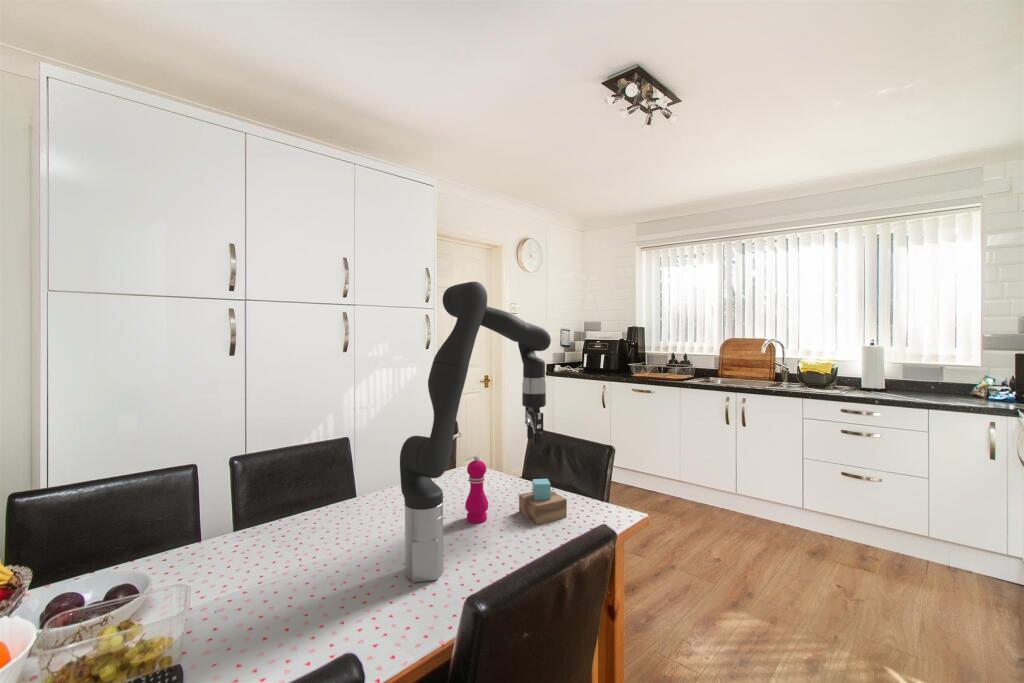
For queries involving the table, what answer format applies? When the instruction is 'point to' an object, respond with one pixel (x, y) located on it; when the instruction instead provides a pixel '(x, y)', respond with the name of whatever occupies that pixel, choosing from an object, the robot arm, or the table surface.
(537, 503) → the walnut box
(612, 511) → the table surface
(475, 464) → the pepper mill
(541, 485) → the teal cube
